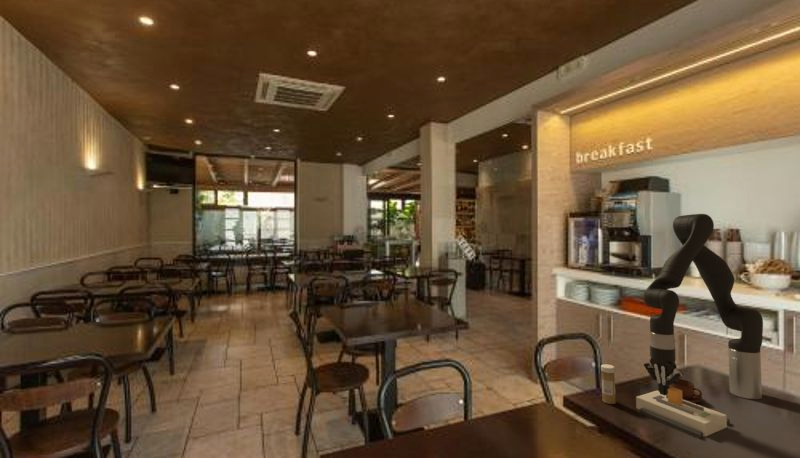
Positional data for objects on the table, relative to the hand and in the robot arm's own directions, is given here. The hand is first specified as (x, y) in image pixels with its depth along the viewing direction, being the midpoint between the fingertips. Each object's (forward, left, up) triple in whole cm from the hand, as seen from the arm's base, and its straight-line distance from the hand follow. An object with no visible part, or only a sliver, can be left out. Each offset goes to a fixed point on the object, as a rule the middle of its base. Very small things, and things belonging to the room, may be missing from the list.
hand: (663, 394), depth 138 cm
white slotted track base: (0, +6, -6) cm, 8 cm away
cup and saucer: (-16, -3, -6) cm, 18 cm away
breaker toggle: (0, +4, -2) cm, 4 cm away
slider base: (0, +5, -6) cm, 8 cm away
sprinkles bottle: (+10, -14, -6) cm, 18 cm away
